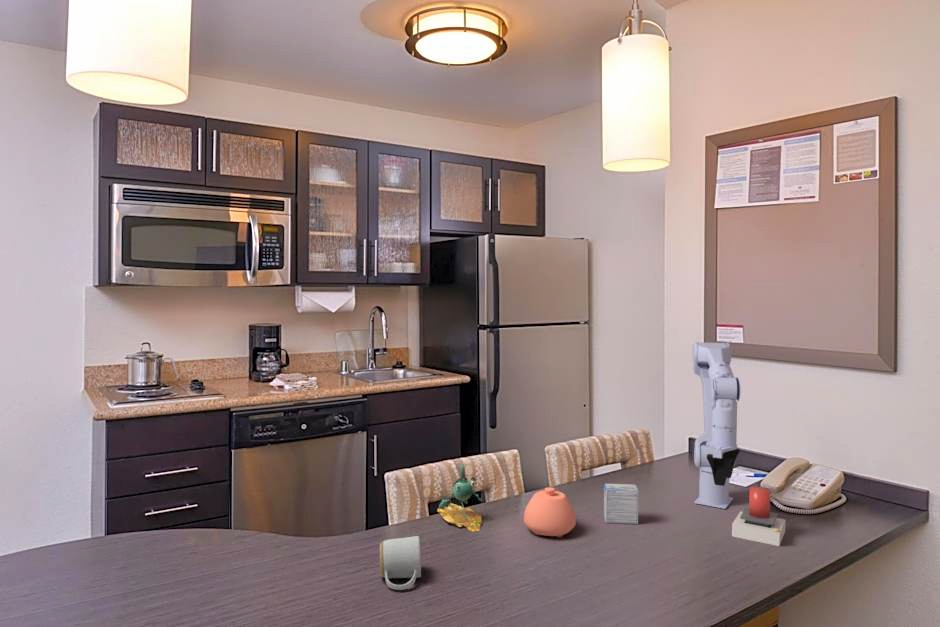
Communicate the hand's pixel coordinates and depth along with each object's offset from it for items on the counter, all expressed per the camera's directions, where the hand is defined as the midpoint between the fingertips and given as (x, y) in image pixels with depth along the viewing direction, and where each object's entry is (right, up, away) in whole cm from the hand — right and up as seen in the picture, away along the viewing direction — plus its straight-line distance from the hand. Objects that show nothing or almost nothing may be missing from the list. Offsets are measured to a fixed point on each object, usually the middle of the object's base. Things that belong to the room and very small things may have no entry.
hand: (722, 481), depth 156 cm
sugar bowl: (-43, -11, -5) cm, 45 cm away
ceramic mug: (-75, -11, -31) cm, 82 cm away
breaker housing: (+6, -11, -7) cm, 14 cm away
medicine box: (-25, -10, +1) cm, 27 cm away
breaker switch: (+6, -10, -7) cm, 13 cm away
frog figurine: (-64, -10, +2) cm, 65 cm away
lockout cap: (+6, -6, -7) cm, 11 cm away
